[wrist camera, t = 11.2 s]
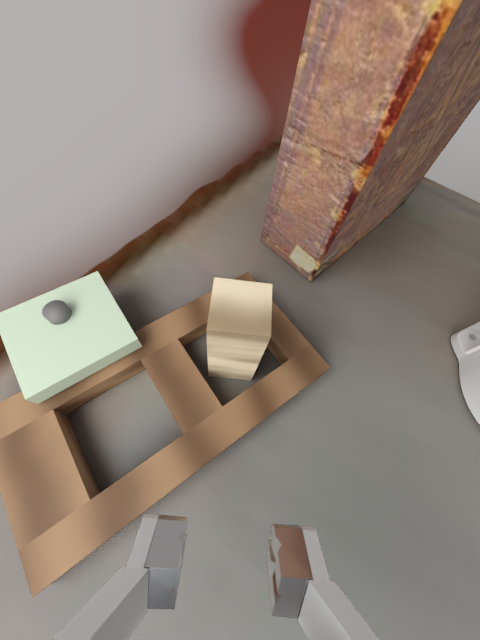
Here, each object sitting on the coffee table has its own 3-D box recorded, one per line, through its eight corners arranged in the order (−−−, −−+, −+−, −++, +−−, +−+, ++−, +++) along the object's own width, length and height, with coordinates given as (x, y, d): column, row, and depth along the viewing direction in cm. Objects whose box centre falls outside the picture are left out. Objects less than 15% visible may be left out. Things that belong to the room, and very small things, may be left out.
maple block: (213, 337, 31) (214, 277, 21) (253, 341, 31) (272, 283, 21) (208, 376, 28) (206, 329, 19) (251, 380, 29) (271, 336, 19)
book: (359, 173, 48) (542, -188, 21) (405, 202, 45) (678, -170, 19) (259, 242, 38) (366, -266, 12) (309, 284, 35) (597, -250, 9)
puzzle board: (245, 284, 34) (248, 271, 32) (321, 374, 30) (330, 367, 27) (-3, 418, 25) (-23, 414, 23) (51, 583, 20) (32, 597, 18)
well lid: (103, 281, 29) (93, 264, 27) (142, 346, 26) (135, 334, 24) (6, 324, 26) (-15, 309, 24) (37, 404, 23) (16, 396, 21)
